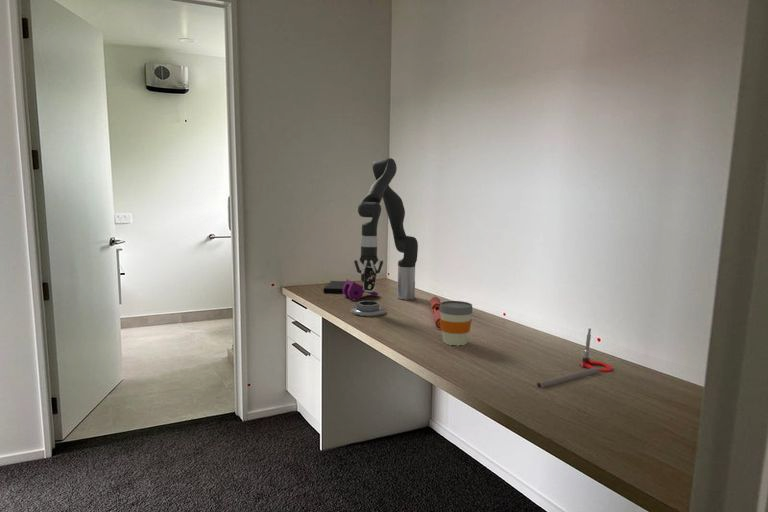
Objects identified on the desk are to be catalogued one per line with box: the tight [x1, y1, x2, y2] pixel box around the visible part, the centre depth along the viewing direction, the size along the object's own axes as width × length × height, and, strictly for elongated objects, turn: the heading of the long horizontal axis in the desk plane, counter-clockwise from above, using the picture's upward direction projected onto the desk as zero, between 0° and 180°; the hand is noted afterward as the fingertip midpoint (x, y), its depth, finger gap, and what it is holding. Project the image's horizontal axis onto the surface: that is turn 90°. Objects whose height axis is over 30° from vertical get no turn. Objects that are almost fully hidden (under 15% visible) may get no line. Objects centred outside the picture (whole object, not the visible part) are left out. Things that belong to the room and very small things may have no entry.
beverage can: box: [362, 265, 378, 293], centre depth 242 cm, size 6×6×12 cm
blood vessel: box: [429, 296, 442, 329], centre depth 239 cm, size 42×5×5 cm, turn 178°
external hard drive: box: [323, 280, 356, 294], centre depth 297 cm, size 14×23×3 cm, turn 175°
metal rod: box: [536, 366, 600, 389], centre depth 163 cm, size 2×27×2 cm, turn 122°
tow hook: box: [579, 328, 613, 373], centre depth 173 cm, size 8×13×9 cm
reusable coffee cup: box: [439, 300, 474, 347], centre depth 198 cm, size 13×13×15 cm
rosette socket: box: [350, 300, 386, 317], centre depth 243 cm, size 16×16×4 cm
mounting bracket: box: [342, 279, 379, 301], centre depth 277 cm, size 10×8×18 cm
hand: (368, 281), depth 242 cm, fingers closed on beverage can, 4 cm apart
